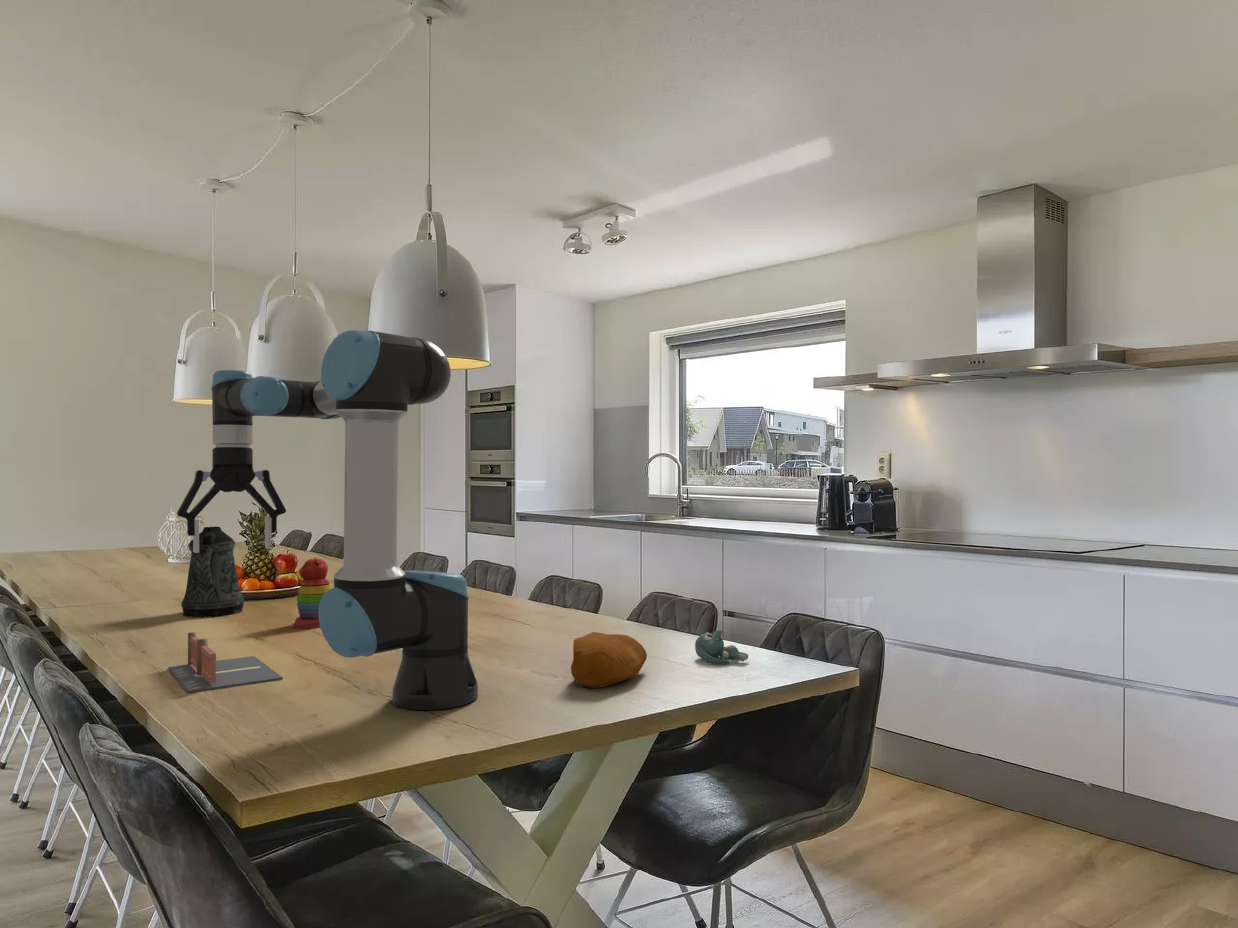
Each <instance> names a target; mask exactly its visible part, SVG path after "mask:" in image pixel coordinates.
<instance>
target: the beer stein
mask: <svg viewBox="0 0 1238 928" xmlns="http://www.w3.org/2000/svg"><path fill="white" fill-rule="evenodd" d="M235 546H236V541H235V539H234V538H232V537H231V536H229V534H227V533H225V531H224V530H222V528H221V527H220V526H205V527H203V529H202V531H201V532H199V553H194V552H193V539H191V540H190V542H188V549H189V551H190V554H191V555H190V560H189V567H188V573H187V581H186V588H185V593H184V597H183V598H182V601H181V604H180V606H181V609H182V615H183V616H184V617H188V618H217V617H223V616H224V617H225V616H226V617H227V616H231V615H236V614H237V615H238V614H240V613H242V612H243V609H244V603H245V597H244V596H243V594H242V593H243V592H242V590H241V586H240V583H239V578H238V572H237V567H236V562H235V556H234V549H235Z"/></svg>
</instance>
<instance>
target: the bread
mask: <svg viewBox="0 0 1238 928" xmlns="http://www.w3.org/2000/svg"><path fill="white" fill-rule="evenodd" d="M572 649H573V651H572V652H573V659H572V662H571V665H570V673H571V676H572V677H573V679H574V681H575V682H576V683H577V684H578V685H581V686H583V687H588V688H593V689H598V688H600V689H601V688H604V687H609V686H612V685H615V684H617V683H618V684H619V683H620V682H623V681H625V680H628V679H632V678H634V677H635V676H636V675H638V674H639V673H640V671H641V670H642V668H643V666H644V664H645V662H646V661H647V657H648V656H647V655H648V654H647V650H646V649H645V647H644V646H643V645H642V643H640V642H639V641H638V640H636V639H635V638H633V637H631V636H629V635H627V634H618V633H617V634H616V633H615V634H614V633H611V634H609V633H608V634H606V633H602V632H594V631H593V632H590V633H588V634H585V635H584V636H583V635H582V636H579V637H577V638H576V637H575V638H574V639H573V645H572Z"/></svg>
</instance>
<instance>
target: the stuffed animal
mask: <svg viewBox="0 0 1238 928" xmlns="http://www.w3.org/2000/svg"><path fill="white" fill-rule="evenodd" d="M722 633H723V631H722V629H717V630H715V631H713V633H709V631H708V632H705V633H702V634H700V635H699V636H698V637H697V638H696V640H695V642H694V650H695V653H696V655H697V657H699V658H701V659H703V660H704V661H705V662H706V663H707V664H710V665H717V666H722V665H725V664H729V663H730V661H731V660H732V661H734V660H738V661H739V662H740V661H741V662H745V661H747V660H748V659H749V654H748V653H746V652H743V651H739V649H738V647H737V646H736V645H733V644H730V645H727V646H725V642H724V636H722ZM719 657H720V658H719Z"/></svg>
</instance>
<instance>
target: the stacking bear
mask: <svg viewBox="0 0 1238 928" xmlns="http://www.w3.org/2000/svg"><path fill="white" fill-rule="evenodd" d="M297 572H298V575H299V576H300V577H301V578H302V579H303V580H302V581H301V582H300V586H298V587H299V588H298V594H297V596H296V606H297V609H298V610H297V611H298V615H299V616H298V617H296V618H295V620H294V623H293V629H297V630H303V629H315V628H321V627H320V623H319V615H318V610H319V603H320V600H321V599H322V596H323V594H324V593H325V592H326V591H328V590H330V589H332V588H333V586H332V584H331V583H330V581H329V580H328V579H327V578H326V577H327V575H328V572H329V568H328V564H327V562H326V561H325V560H323V559H321V558H317V557H313V558H309V559H308V560H306V561H305V562H304V564H303V565H302V566H301V567H300V568H299V569H298V571H297Z"/></svg>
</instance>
